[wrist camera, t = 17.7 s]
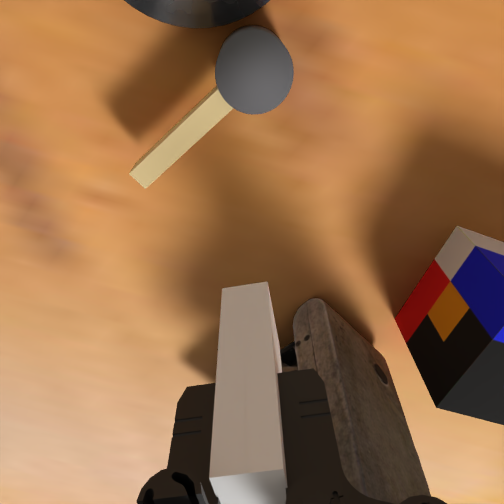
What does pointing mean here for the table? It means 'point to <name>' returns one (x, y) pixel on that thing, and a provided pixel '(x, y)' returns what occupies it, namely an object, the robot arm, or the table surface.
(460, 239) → the puzzle toy
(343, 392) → the vintage camera
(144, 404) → the table surface
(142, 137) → the table surface
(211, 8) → the tribrach
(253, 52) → the knob
